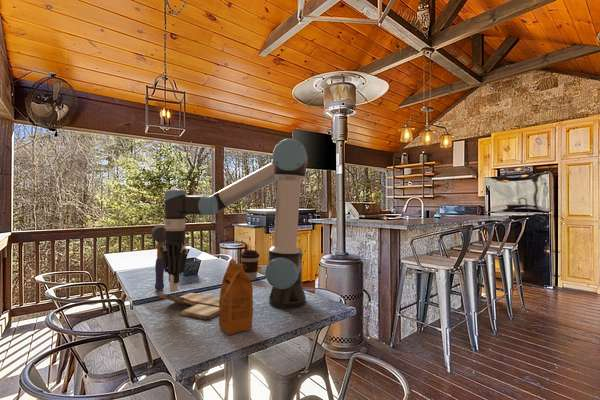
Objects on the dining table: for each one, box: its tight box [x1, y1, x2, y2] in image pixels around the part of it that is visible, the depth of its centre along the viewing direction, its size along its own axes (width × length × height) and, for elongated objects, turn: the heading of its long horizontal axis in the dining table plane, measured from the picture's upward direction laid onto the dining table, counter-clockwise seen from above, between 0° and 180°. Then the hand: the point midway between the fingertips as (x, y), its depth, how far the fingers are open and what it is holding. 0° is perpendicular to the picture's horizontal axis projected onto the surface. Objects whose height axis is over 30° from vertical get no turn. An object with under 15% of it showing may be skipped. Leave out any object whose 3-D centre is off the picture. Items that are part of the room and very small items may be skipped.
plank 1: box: [157, 293, 197, 306], centre depth 121 cm, size 12×9×1 cm
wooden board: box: [175, 292, 220, 307], centre depth 127 cm, size 25×9×2 cm, turn 67°
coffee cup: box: [240, 249, 260, 281], centre depth 167 cm, size 10×10×15 cm
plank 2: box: [180, 304, 219, 321], centre depth 115 cm, size 12×9×1 cm
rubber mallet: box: [150, 224, 166, 291], centre depth 144 cm, size 12×8×30 cm, turn 29°
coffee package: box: [218, 258, 254, 336], centre depth 103 cm, size 10×12×22 cm
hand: (173, 291), depth 119 cm, fingers closed
